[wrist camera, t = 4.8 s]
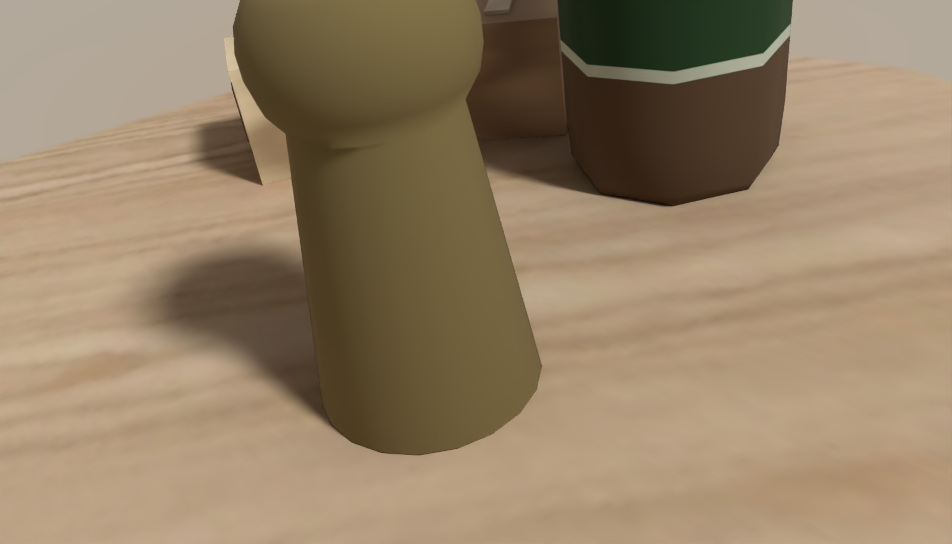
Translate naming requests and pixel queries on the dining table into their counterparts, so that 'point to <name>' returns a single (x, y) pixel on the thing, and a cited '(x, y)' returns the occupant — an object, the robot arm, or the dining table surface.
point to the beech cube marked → (258, 127)
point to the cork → (394, 216)
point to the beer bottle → (674, 93)
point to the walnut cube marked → (519, 71)
